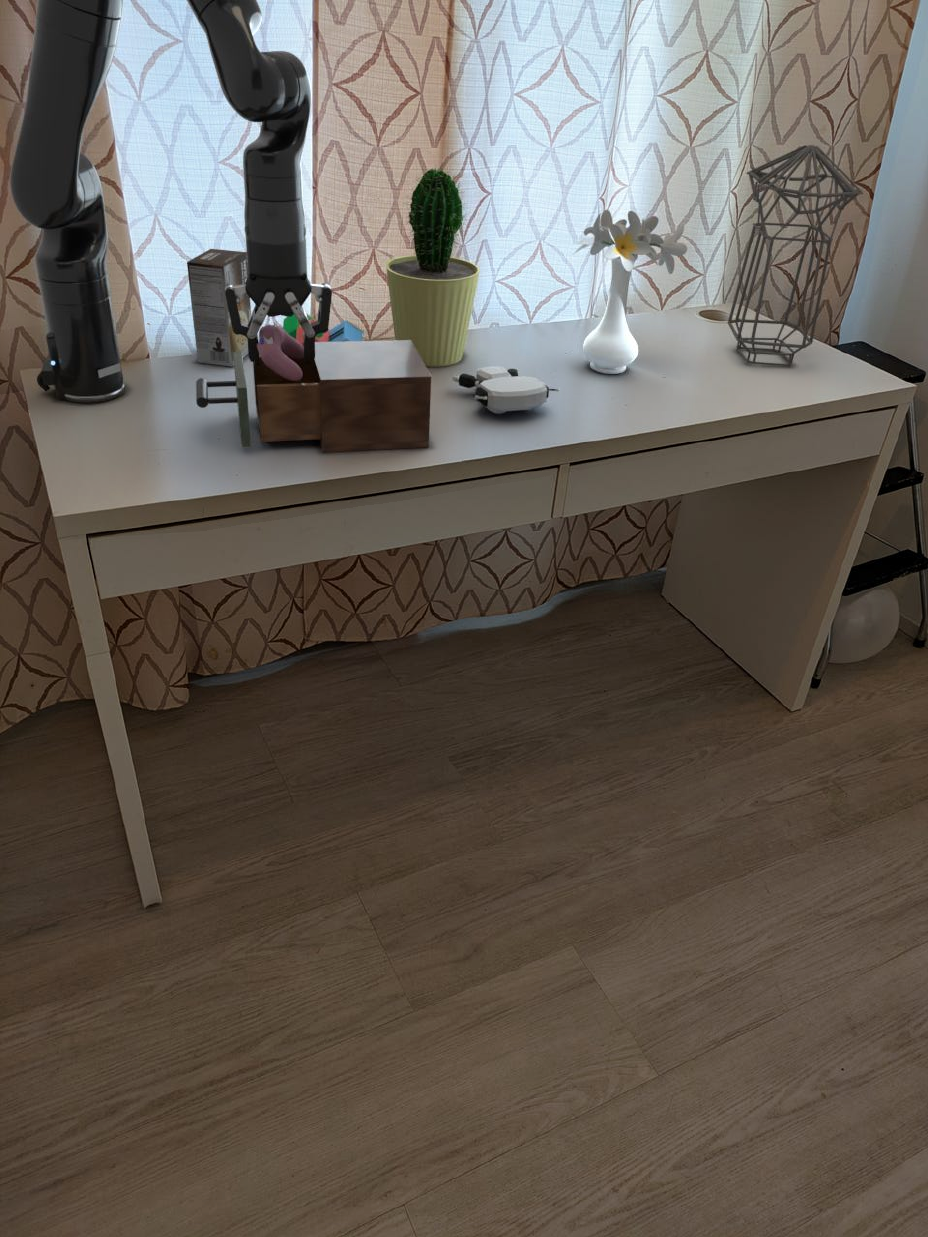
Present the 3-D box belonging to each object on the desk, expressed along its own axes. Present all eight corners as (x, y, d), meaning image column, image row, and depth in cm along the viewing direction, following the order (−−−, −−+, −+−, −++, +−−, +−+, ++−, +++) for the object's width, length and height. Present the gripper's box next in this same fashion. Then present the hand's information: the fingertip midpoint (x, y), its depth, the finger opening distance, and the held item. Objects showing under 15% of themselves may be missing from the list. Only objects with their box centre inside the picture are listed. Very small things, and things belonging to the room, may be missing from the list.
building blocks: (315, 378, 168) (363, 350, 160) (278, 356, 162) (326, 327, 155) (318, 339, 170) (365, 311, 163) (281, 317, 165) (328, 286, 157)
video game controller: (280, 367, 137) (254, 322, 133) (308, 353, 137) (284, 308, 133) (274, 393, 129) (247, 346, 125) (305, 379, 128) (278, 332, 125)
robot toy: (447, 394, 155) (486, 424, 143) (447, 366, 152) (487, 394, 140) (516, 386, 159) (559, 415, 147) (517, 359, 157) (562, 385, 145)
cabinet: (322, 452, 133) (320, 379, 127) (311, 410, 144) (309, 342, 139) (428, 447, 136) (431, 376, 130) (409, 406, 148) (411, 339, 142)
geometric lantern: (817, 376, 169) (876, 156, 149) (727, 370, 169) (774, 150, 149) (793, 346, 182) (845, 140, 162) (710, 341, 182) (751, 134, 162)
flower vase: (675, 372, 166) (703, 218, 152) (587, 386, 158) (609, 225, 144) (629, 348, 176) (651, 200, 162) (544, 360, 168) (560, 206, 154)
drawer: (200, 449, 129) (194, 389, 124) (199, 409, 140) (193, 352, 135) (343, 443, 133) (342, 384, 128) (331, 404, 144) (330, 349, 139)
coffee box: (219, 345, 165) (210, 246, 156) (254, 349, 164) (248, 251, 155) (196, 362, 158) (185, 260, 149) (233, 367, 157) (225, 265, 148)
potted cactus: (366, 349, 167) (366, 159, 150) (435, 334, 176) (443, 153, 159) (422, 377, 158) (428, 178, 141) (492, 360, 166) (506, 170, 150)
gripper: (329, 227, 127) (331, 352, 136) (216, 226, 124) (226, 354, 133) (336, 241, 121) (338, 371, 131) (218, 241, 118) (228, 374, 127)
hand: (282, 362), depth 132 cm, fingers closed on video game controller, 6 cm apart
